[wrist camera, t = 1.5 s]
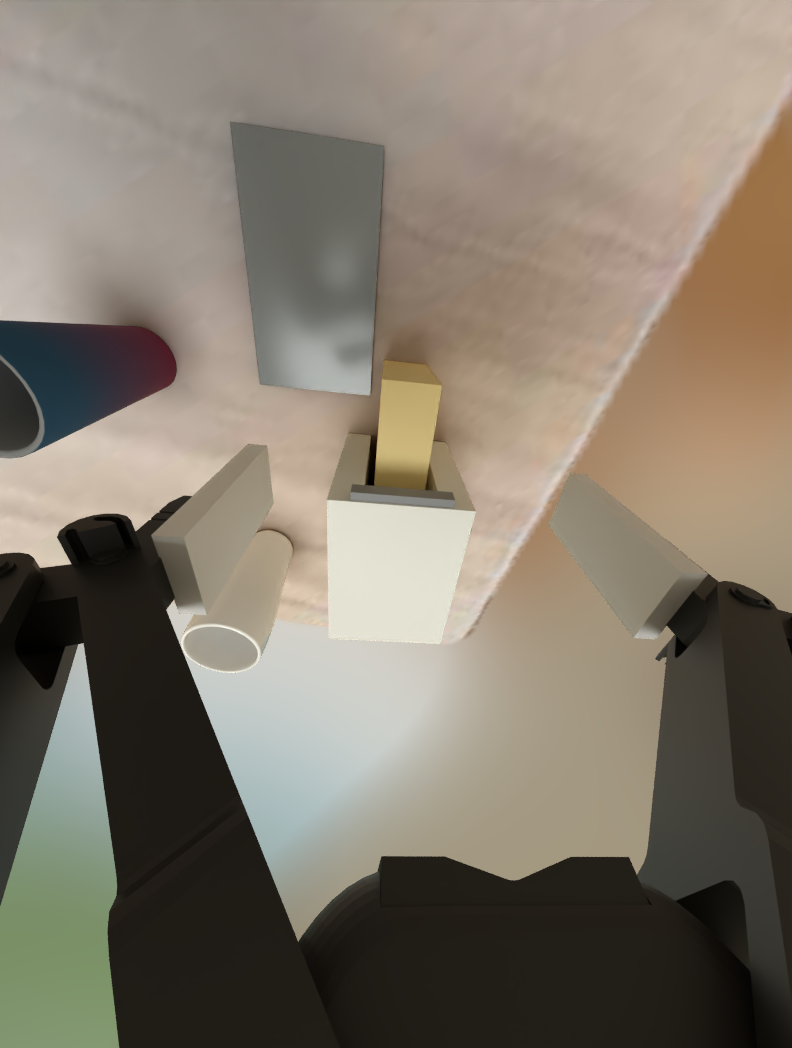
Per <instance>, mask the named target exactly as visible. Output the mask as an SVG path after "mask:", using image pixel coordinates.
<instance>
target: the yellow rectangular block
mask: <svg viewBox="0 0 792 1048" xmlns="http://www.w3.org/2000/svg"><path fill="white" fill-rule="evenodd" d="M441 390H442V385H441V383H440V382H439V381H438V379H437V378H436V376H435V375H434V374H433V372H432V371H431V370H430V368H429V367H428V365H424V364H415V363H406V362H397V361H387V360H383V372H382V385H381V398H380V412H379V426H378V440H377V453H376V467H375V481H374V486H382V487H394V488H406V489H418V490H425V486H426V480H427V474H428V468H429V462H430V456H431V450H432V444H433V438H434V432H435V426H436V420H437V414H438V408H439V402H440V396H441Z"/></svg>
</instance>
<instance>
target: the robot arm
mask: <svg viewBox="0 0 792 1048" xmlns="http://www.w3.org/2000/svg"><path fill="white" fill-rule="evenodd" d="M273 504H274V503H273V494H272V485H271V476H270V467H269V458H268V449H267V446H266V445H254V444H248V445H247V446H245V447H244V448H243V449H242V450H241V451H240V452H239V453H238V454H237V455H236V456H235V457H234V458H233V459H232V460H231V461H230V462H228V463H227V464H226V465H225V466H224V467H223V468H222V469H221V470H220V471H219V472H218V473H217V474H216V475H215V476H214V477H212V478H211V479H210V480H209V481H208V482H207V483H206V484H205V485H204V486H203V487H202V488H201V489H200V490H199V491H198V492H197V493H195V494H194V495H193V496H182V497H180V498H178V499H176V500H174V501H172V502H169V503H168V504H167V505H166V506H165V507H164V508H162V509H161V510H160V511H159V513H157V514H156V515H154V516H153V517H152V518H151V520H149V521H147V522H146V523H145V524H144V525H143V526H142V527H141V528H139V529H138V530H137V531H136V532H135V530H134V527H133V525H132V522H131V520H130V519H129V518H128V517H127V516H124V515H120V514H100V515H93V516H89V517H86V518H82V519H79V520H77V521H75V522H73V523H70V524H68V525H67V526H65V527H64V528H63V529H62V530H60V531H59V534H58V536H57V538H58V540H59V542H60V543H61V545H62V547H63V549H64V551H65V553H66V554H67V556H68V558H69V560H70V562H71V564H70V565H62V566H54V567H46V568H40V567H39V566H38V564H37V562H36V561H35V559H34V558H33V557H32V556H30V555H29V554H24V553H6V554H0V905H1V902H2V898H3V895H4V891H5V888H6V884H7V881H8V878H9V875H10V871H11V868H12V865H13V861H14V858H15V854H16V851H17V848H18V844H19V841H20V838H21V834H22V831H23V828H24V824H25V821H26V818H27V814H28V811H29V807H30V804H31V800H32V797H33V794H34V790H35V787H36V784H37V781H38V777H39V774H40V771H41V767H42V764H43V760H44V757H45V754H46V750H47V747H48V744H49V740H50V737H51V733H52V730H53V727H54V724H55V720H56V717H57V714H58V710H59V707H60V703H61V700H62V697H63V693H64V690H65V686H66V683H67V680H68V677H69V673H70V670H71V667H72V663H73V659H74V656H75V653H76V650H77V646H78V644H81V643H84V648H85V655H86V662H87V670H88V677H89V684H90V691H91V697H92V705H93V711H94V719H95V726H96V733H97V741H98V747H99V754H100V762H101V768H102V775H103V783H104V790H105V797H106V804H107V811H108V817H109V825H110V833H111V840H112V847H113V854H114V861H115V868H116V876H117V896H116V899H115V901H114V903H113V905H112V907H111V909H110V911H109V921H108V945H109V961H110V969H111V978H112V987H113V996H114V1005H115V1012H116V1021H117V1031H118V1040H119V1048H792V613H788V612H785V611H781V610H778V609H777V608H776V607H775V605H774V604H773V603H772V602H771V601H770V600H769V599H767V598H766V597H765V596H763V595H762V594H760V593H758V592H757V591H755V590H753V589H750V588H748V587H746V586H744V585H741V584H737V583H734V582H728V581H722V582H718V581H717V580H715V579H714V578H713V577H711V575H709V574H708V573H707V572H706V571H704V570H703V569H702V568H701V567H700V566H698V565H697V564H696V563H695V562H693V561H692V560H691V559H690V558H688V557H687V556H686V555H685V554H683V553H682V552H681V551H679V550H678V548H676V547H675V546H674V545H673V544H671V543H670V542H669V541H667V540H666V539H665V538H664V537H662V536H661V535H660V534H659V533H657V532H656V531H655V530H654V529H653V528H651V527H650V526H649V525H648V524H647V523H645V522H644V521H643V520H642V519H640V518H639V517H638V516H637V515H635V514H634V513H633V512H632V511H631V510H629V509H628V508H627V507H626V506H624V505H623V504H622V503H621V502H619V501H618V500H617V499H616V498H615V497H613V496H612V495H611V494H610V493H608V492H607V491H606V490H605V489H604V488H602V487H601V486H600V485H599V484H598V483H596V482H595V481H594V480H592V479H591V478H590V477H589V476H588V475H586V474H576V473H570V474H569V477H568V479H567V481H566V484H565V486H564V489H563V491H562V493H561V496H560V498H559V501H558V503H557V505H556V508H555V510H554V513H553V515H552V517H551V520H550V522H549V527H550V528H551V529H552V531H553V532H554V533H555V534H556V536H557V537H558V539H559V540H560V541H561V543H562V544H563V545H564V546H565V548H566V549H567V550H568V552H569V553H570V554H571V556H572V557H573V558H574V560H575V561H576V562H577V564H578V565H579V566H580V568H581V569H582V570H583V572H584V573H585V574H586V576H587V577H588V578H589V580H590V581H591V582H592V584H593V585H594V586H595V588H596V589H597V590H598V592H599V593H600V594H601V596H602V597H603V598H604V599H605V601H606V602H607V604H608V605H609V606H610V607H611V609H612V610H613V612H614V613H615V614H616V616H617V617H618V618H619V620H620V621H621V622H622V624H623V625H624V626H625V627H626V629H627V630H628V631H629V633H630V634H631V635H632V637H633V638H645V639H656V638H657V637H658V636H659V634H660V633H661V632H662V631H663V629H664V628H665V627H666V626H668V627H669V628H670V629H671V631H672V632H673V633H674V634H675V635H674V636H673V637H672V639H671V640H670V641H669V642H668V643H667V644H666V646H665V647H664V648H663V649H662V650H661V652H660V653H659V654H658V655H657V657H656V660H658V661H660V660H661V658H663V657H667V660H666V663H665V664H666V670H665V679H664V690H663V701H662V710H661V720H660V731H659V741H658V751H657V761H656V771H655V781H654V791H653V803H652V812H651V823H650V833H649V843H648V850H647V855H646V858H645V862H644V864H643V866H642V867H641V869H640V871H639V873H638V874H637V875H636V872H635V870H634V868H633V866H632V863H631V861H630V859H629V857H570V858H567V859H565V860H563V861H561V862H559V863H556V864H554V865H552V866H549V867H547V868H545V869H543V870H540V871H538V872H536V873H533V874H531V875H529V876H527V877H525V878H522V879H520V880H516V881H511V880H507V879H504V878H501V877H499V876H496V875H493V874H491V873H488V872H485V871H482V870H480V869H477V868H474V867H471V866H468V865H466V864H463V863H461V862H458V861H455V860H452V859H450V858H447V857H402V856H401V857H400V856H399V857H397V856H396V857H395V856H394V857H393V856H391V857H390V856H388V857H387V856H383V857H381V860H380V864H379V868H378V872H376V873H374V874H372V875H369V876H367V877H364V878H362V879H361V880H359V881H357V882H356V883H354V884H352V885H351V886H349V887H347V888H346V889H345V890H344V891H342V892H341V893H340V894H339V895H338V896H336V897H335V898H334V899H333V900H332V901H331V902H330V903H329V904H328V905H327V906H326V907H325V908H324V909H323V910H322V911H321V912H320V914H319V915H318V916H317V917H316V918H315V920H314V921H313V922H312V923H311V925H310V926H309V927H308V929H307V930H306V932H305V933H304V934H303V935H302V937H301V939H300V940H299V942H298V941H297V938H296V936H295V933H294V931H293V928H292V926H291V923H290V921H289V918H288V915H287V913H286V910H285V908H284V905H283V903H282V901H281V898H280V895H279V893H278V890H277V888H276V885H275V883H274V880H273V878H272V875H271V873H270V870H269V868H268V865H267V862H266V860H265V858H264V855H263V853H262V850H261V847H260V845H259V842H258V840H257V837H256V835H255V832H254V830H253V827H252V825H251V822H250V820H249V817H248V815H247V812H246V810H245V807H244V805H243V803H242V800H241V798H240V795H239V793H238V790H237V788H236V785H235V783H234V780H233V778H232V775H231V773H230V770H229V768H228V765H227V762H226V760H225V758H224V755H223V753H222V750H221V748H220V745H219V742H218V740H217V737H216V735H215V732H214V730H213V727H212V725H211V723H210V720H209V717H208V715H207V712H206V709H205V707H204V704H203V702H202V700H201V697H200V694H199V692H198V689H197V687H196V684H195V682H194V679H193V677H192V674H191V672H190V669H189V667H188V664H187V661H186V659H185V656H184V654H183V651H182V649H181V646H180V644H179V641H178V639H177V636H176V634H175V631H174V629H173V626H172V624H171V621H170V619H169V616H168V614H167V611H166V609H167V608H168V607H169V605H170V604H171V603H172V601H173V600H175V603H176V606H177V609H178V611H179V613H180V614H196V615H207V614H208V612H209V611H210V609H211V607H212V606H213V604H214V602H215V601H216V599H217V597H218V596H219V594H220V592H221V591H222V589H223V587H224V586H225V584H226V582H227V580H228V579H229V577H230V575H231V574H232V572H233V570H234V569H235V567H236V565H237V564H238V562H239V560H240V559H241V557H242V555H243V554H244V552H245V550H246V549H247V547H248V545H249V544H250V542H251V540H252V539H253V537H254V535H255V534H256V532H257V530H258V529H259V527H260V525H261V524H262V522H263V520H264V519H265V517H266V515H267V514H268V512H269V510H270V509H271V507H272V505H273Z"/></svg>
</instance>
